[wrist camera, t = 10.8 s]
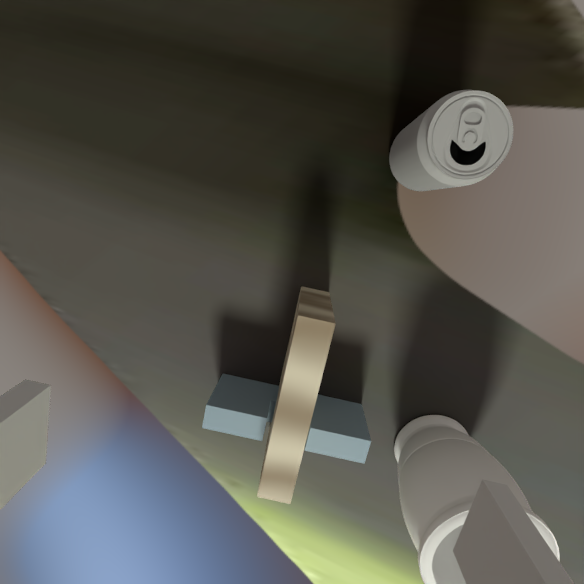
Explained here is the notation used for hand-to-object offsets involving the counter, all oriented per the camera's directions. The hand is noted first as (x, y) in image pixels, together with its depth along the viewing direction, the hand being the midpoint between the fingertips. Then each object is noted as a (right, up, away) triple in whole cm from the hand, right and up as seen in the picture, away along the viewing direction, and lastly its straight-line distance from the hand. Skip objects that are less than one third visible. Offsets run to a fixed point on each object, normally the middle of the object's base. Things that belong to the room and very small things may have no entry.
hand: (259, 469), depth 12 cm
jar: (+17, -12, +33) cm, 39 cm away
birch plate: (+2, -2, +31) cm, 31 cm away
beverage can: (+13, +18, +26) cm, 35 cm away
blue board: (+1, -7, +32) cm, 33 cm away
